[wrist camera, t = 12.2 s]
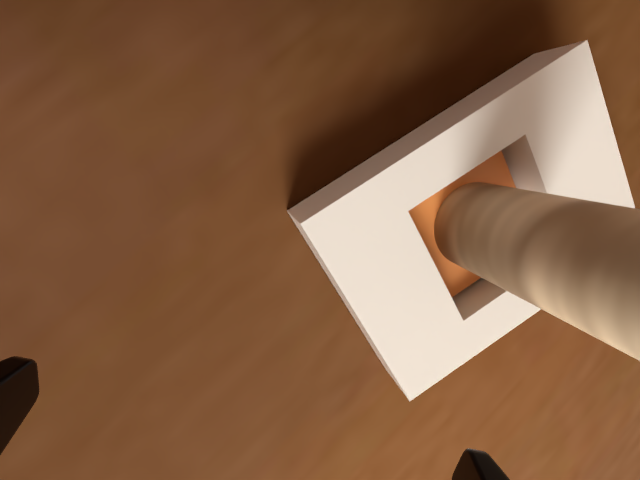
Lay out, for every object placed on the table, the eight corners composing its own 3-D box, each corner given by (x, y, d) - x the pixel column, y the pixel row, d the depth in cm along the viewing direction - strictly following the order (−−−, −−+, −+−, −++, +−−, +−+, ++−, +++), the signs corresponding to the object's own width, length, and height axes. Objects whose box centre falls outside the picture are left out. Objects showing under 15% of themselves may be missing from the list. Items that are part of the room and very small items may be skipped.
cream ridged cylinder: (479, 278, 20) (816, 459, 9) (418, 241, 19) (724, 398, 8) (524, 208, 20) (934, 303, 9) (465, 165, 19) (858, 211, 7)
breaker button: (432, 289, 21) (448, 300, 20) (387, 202, 20) (401, 207, 18) (515, 233, 22) (536, 239, 20) (478, 143, 20) (498, 143, 19)
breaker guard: (384, 367, 22) (409, 401, 19) (286, 210, 19) (300, 224, 16) (590, 224, 23) (643, 237, 20) (533, 53, 20) (587, 40, 17)
